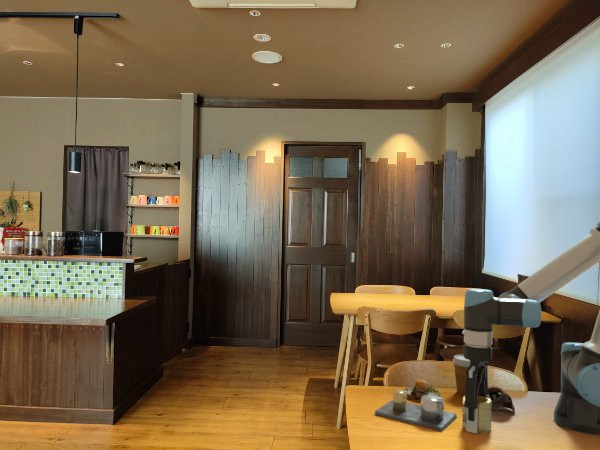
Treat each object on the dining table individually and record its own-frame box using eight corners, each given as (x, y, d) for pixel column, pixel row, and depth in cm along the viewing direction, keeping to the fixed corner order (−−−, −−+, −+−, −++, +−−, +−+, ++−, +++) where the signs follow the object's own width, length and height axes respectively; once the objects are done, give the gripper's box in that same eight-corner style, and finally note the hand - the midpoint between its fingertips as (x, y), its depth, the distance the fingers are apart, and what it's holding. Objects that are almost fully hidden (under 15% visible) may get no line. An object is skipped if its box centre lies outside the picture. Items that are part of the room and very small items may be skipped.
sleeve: (492, 426, 136) (493, 398, 136) (486, 435, 131) (487, 405, 131) (467, 420, 140) (467, 393, 140) (460, 428, 134) (460, 399, 135)
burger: (445, 396, 163) (445, 373, 163) (433, 406, 153) (433, 382, 153) (410, 389, 169) (411, 367, 169) (397, 398, 160) (397, 375, 160)
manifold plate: (456, 417, 143) (456, 396, 143) (441, 431, 132) (442, 409, 133) (393, 402, 154) (393, 383, 155) (375, 414, 144) (375, 393, 144)
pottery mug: (522, 419, 144) (511, 396, 143) (491, 430, 146) (481, 408, 144) (508, 395, 156) (498, 374, 154) (480, 406, 157) (470, 385, 156)
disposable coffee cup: (484, 392, 167) (484, 357, 167) (478, 399, 159) (478, 362, 159) (456, 387, 172) (456, 352, 172) (448, 394, 164) (449, 358, 164)
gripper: (474, 337, 147) (472, 413, 146) (452, 349, 129) (450, 435, 129) (500, 340, 142) (499, 418, 142) (481, 354, 125) (480, 443, 125)
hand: (476, 426), depth 135 cm, fingers open, 8 cm apart
